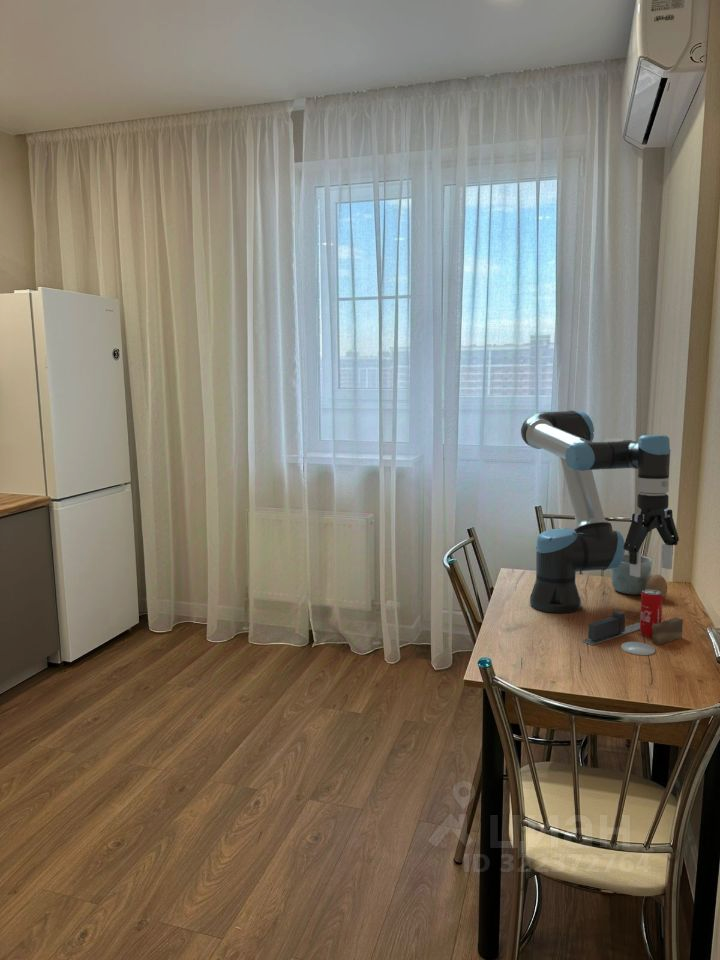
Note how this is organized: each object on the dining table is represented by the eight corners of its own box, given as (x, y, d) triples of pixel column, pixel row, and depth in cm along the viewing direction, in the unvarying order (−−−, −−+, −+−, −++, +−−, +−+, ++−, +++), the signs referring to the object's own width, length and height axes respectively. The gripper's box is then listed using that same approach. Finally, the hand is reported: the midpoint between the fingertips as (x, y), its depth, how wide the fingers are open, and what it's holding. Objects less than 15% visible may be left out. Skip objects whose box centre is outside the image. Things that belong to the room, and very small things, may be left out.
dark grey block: (587, 637, 177) (587, 619, 176) (616, 628, 183) (617, 610, 182) (595, 640, 175) (596, 621, 174) (624, 631, 181) (625, 613, 180)
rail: (581, 641, 176) (581, 640, 176) (641, 622, 189) (641, 621, 189) (591, 645, 173) (591, 644, 173) (651, 625, 186) (651, 624, 186)
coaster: (614, 647, 172) (614, 646, 171) (634, 641, 176) (634, 639, 176) (642, 657, 165) (642, 656, 165) (661, 650, 169) (662, 649, 169)
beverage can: (662, 638, 177) (664, 595, 175) (642, 637, 178) (643, 594, 176) (658, 631, 182) (660, 589, 180) (638, 630, 183) (639, 588, 181)
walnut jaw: (652, 643, 174) (652, 624, 173) (675, 635, 179) (675, 617, 179) (659, 645, 172) (659, 627, 172) (682, 637, 178) (682, 619, 177)
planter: (603, 586, 224) (604, 555, 222) (638, 584, 225) (639, 553, 224) (621, 597, 212) (622, 564, 210) (658, 595, 213) (659, 562, 211)
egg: (671, 600, 208) (672, 575, 207) (657, 603, 205) (658, 577, 204) (654, 595, 214) (655, 570, 213) (640, 598, 211) (641, 573, 210)
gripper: (635, 499, 166) (633, 582, 168) (694, 490, 179) (692, 567, 181) (610, 496, 172) (608, 576, 175) (668, 488, 185) (666, 562, 188)
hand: (651, 572), depth 178 cm, fingers open, 13 cm apart
